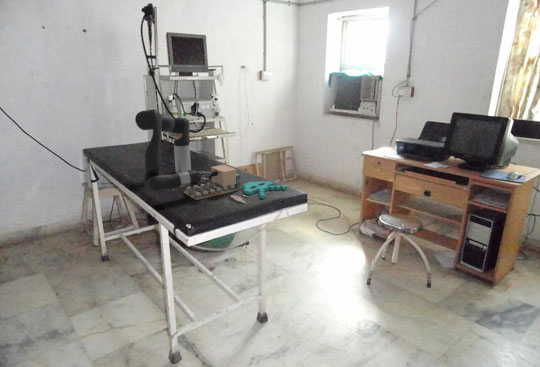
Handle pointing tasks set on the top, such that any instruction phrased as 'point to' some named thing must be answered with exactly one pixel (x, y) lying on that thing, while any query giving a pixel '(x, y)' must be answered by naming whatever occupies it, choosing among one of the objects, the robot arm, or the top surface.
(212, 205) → the top surface
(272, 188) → the alien figure
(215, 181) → the tan cardboard box
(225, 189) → the roller track
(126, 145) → the top surface
